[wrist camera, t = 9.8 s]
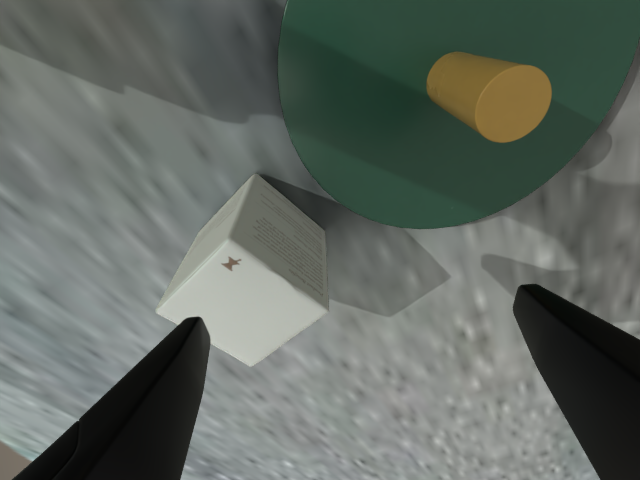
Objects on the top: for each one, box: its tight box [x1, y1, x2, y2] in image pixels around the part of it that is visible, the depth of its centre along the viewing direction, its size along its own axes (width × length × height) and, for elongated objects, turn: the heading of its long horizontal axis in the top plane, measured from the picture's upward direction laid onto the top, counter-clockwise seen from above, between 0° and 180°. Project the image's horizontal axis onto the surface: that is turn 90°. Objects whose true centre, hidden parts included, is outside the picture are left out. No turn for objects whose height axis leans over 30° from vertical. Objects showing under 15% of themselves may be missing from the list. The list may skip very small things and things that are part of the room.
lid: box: [277, 0, 640, 229], centre depth 14 cm, size 17×17×7 cm
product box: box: [156, 174, 329, 367], centre depth 19 cm, size 6×6×7 cm
